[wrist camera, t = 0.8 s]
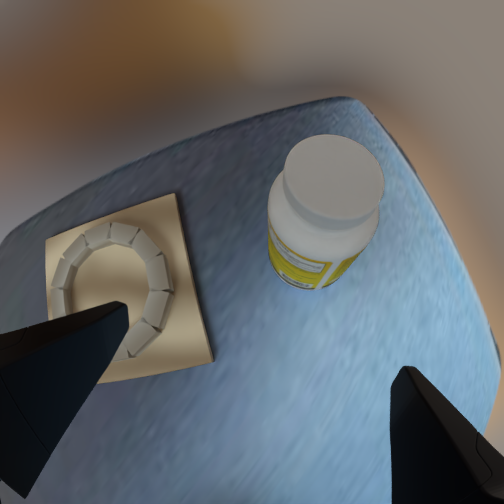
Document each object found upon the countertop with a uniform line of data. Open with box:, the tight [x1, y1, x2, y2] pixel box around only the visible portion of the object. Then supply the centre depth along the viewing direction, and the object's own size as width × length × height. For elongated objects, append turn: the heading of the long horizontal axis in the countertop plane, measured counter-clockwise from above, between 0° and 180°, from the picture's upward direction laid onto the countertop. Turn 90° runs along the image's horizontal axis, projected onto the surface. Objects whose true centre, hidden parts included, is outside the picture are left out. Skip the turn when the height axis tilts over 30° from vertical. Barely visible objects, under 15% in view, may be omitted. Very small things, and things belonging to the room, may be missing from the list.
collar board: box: [46, 193, 214, 384], centre depth 21 cm, size 14×14×2 cm
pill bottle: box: [268, 134, 384, 291], centre depth 18 cm, size 6×6×11 cm
